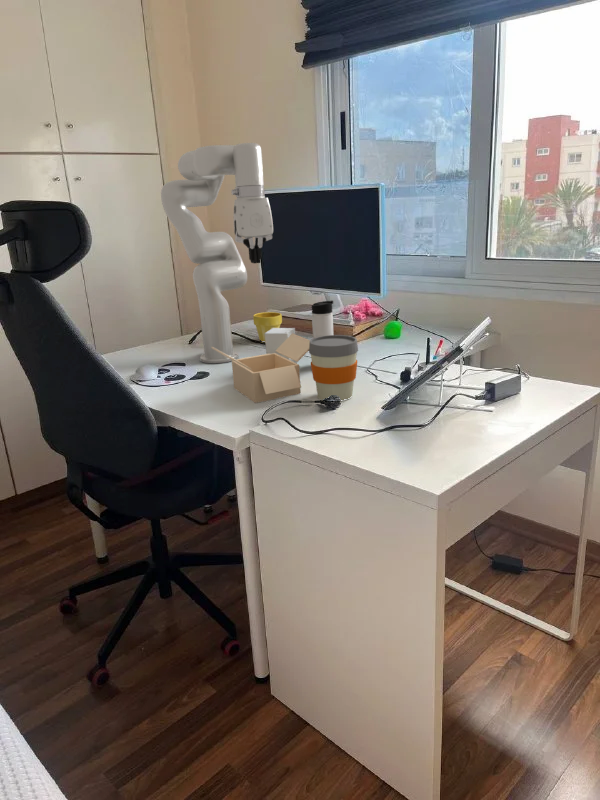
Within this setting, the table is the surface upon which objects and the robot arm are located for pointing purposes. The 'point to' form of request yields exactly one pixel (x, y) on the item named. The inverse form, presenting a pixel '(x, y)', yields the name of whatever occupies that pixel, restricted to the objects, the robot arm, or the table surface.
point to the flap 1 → (231, 358)
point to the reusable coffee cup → (334, 365)
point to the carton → (266, 377)
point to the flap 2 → (294, 347)
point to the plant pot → (266, 322)
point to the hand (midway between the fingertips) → (255, 262)
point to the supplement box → (277, 340)
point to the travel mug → (322, 319)
